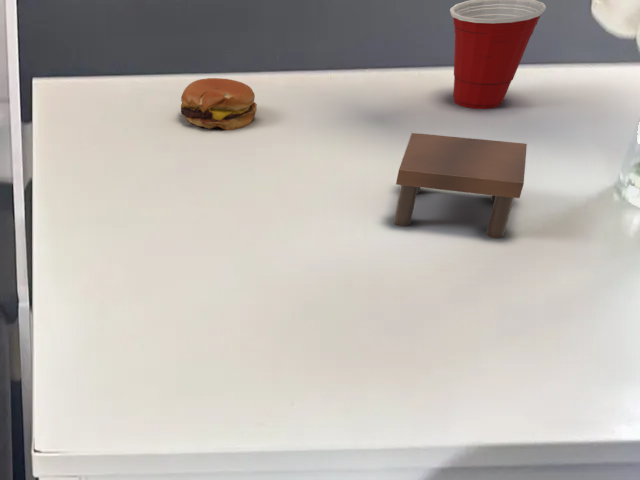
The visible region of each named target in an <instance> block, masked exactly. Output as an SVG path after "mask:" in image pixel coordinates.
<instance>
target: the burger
mask: <svg viewBox="0 0 640 480" xmlns="http://www.w3.org/2000/svg"><path fill="white" fill-rule="evenodd" d="M255 98H256V95H255V92H254V91H253V89H252V88H251V87H250V86H249V85H248V84H245V83H244V82H242V81H238V80H234V79H229V78H221V77H219V78H218V77H209V78H201V79H196V80H194V81H192V82H190V83H189V84H188V85H187V86H186V87H185V88H184V89H183V92H182V94H181V98H180V101H181V104H180V114H181V115H182V116H183V117H184V118H185V120H187V122H189V124H192V125H195V126H197V127H203V128H205V129H207V130H210V129H215V128H221V129H222V130H225V131H233V130H237V129H242V128H245V127H247V126H249V125H250V124H251V123H252V121H253V120H254V118H255V115H256V112H257V109H258V108H257V107H258V106H257V105H258V104H257V103H256V102H255Z"/></svg>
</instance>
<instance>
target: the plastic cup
mask: <svg viewBox="0 0 640 480" xmlns="http://www.w3.org/2000/svg"><path fill="white" fill-rule="evenodd" d="M546 9H547V6H546V4H545V3H544V2H542V1H539V0H465V1H463V2H460V3H459V2H458V3H456V4H454V5H453V6H452V7H450V8H449V13H450V15H451V17H452V19H453V25H454V54H453V55H454V57H453V76H454V78H453V80H454V81H453V91H452V92H453V93H452V94H453V95H452V96H453V102H454V103H455V104H456V105H458V106H460V107H464V108H468V109H476V110H488V109H489V110H490V109H495V108H498V107H500V106H501V105H502V103H503V101H504V100H505V98H506V95H507V92H508V91H509V88H510V86H511V83H512V81H513V80H514V78H515V77H516V73H517V71H518V68H519V66H520V64H521V61H522V58H523V57H524V54H525V51H526V49H527V46H528V45H529V41H530V39H531V37H532V36H533V33H534V30H535V28H536V26H537V25H538V22H539V19H540V18H541V16H542V15H543V14H544V13H545V12H546Z"/></svg>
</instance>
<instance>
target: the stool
mask: <svg viewBox="0 0 640 480" xmlns="http://www.w3.org/2000/svg"><path fill="white" fill-rule="evenodd" d="M527 146H528V144H527V143H526V142H525V143H524V142H514V141H513V142H512V141H502V140H491V139H482V138H471V137H462V136H461V137H460V136H450V135H438V134H428V133H419V132H418V133H417V132H411V134H410V138H409V140H408V143H407V145H406V148H405V151H404V153H403V157H402V159H401V161H400V165H399V168H398V172H397V177H396V183H395V184H396V185H397V186H400V187H399V191H398V192H399V193H398V196H397V197H398V198H397V202H396V208H395V211H394V217H393V225H395V226H397V227H410V225H411V223H412V218H413V213H414V209H415V204H416V199H417V195H418V194H420V193H421V189H422V188H423V189H431V190H440V191H441V190H442V191H450V192H458V193H467V194H477V195H486V196H491V198H490V203H492V208H491V212H490V216H489V219H488V224H487V228H486V231H485V235H486V236H487V237H488V238H491V239H502V238H504V236H505V233H506V230H507V229H506V228H507V225H508V221H509V219H510V214H511V210H512V206H513V203H514V199H520V198H521V195H522V191H523V187H524V184H525V175H526V159H527V158H526V157H527Z"/></svg>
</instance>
